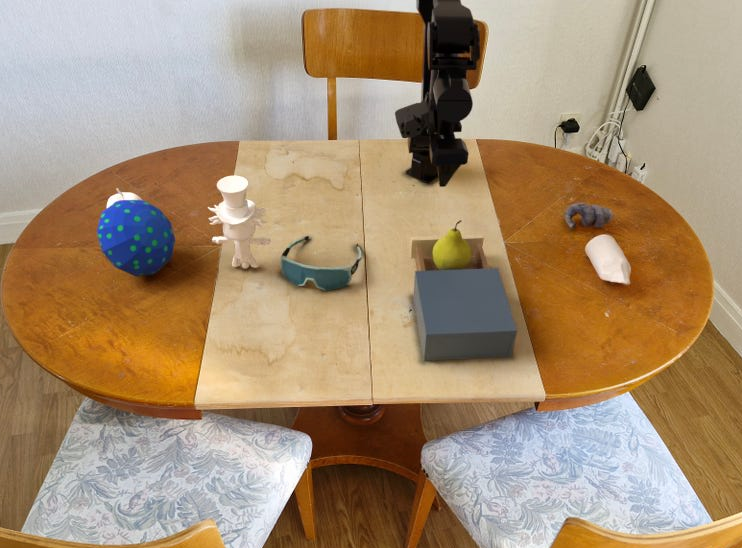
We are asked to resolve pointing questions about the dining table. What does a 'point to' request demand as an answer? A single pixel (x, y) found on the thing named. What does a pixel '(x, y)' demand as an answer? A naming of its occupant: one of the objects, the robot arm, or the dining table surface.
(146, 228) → the polka dot ball
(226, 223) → the figurine
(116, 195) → the plain white apple
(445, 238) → the fruit
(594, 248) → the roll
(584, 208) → the seashell
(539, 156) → the dining table surface
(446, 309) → the cabinet
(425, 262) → the drawer
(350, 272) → the sunglasses
